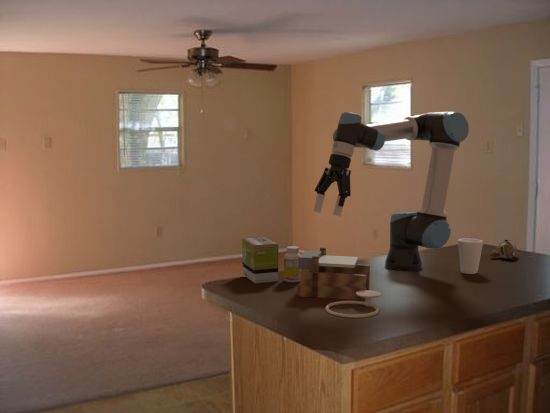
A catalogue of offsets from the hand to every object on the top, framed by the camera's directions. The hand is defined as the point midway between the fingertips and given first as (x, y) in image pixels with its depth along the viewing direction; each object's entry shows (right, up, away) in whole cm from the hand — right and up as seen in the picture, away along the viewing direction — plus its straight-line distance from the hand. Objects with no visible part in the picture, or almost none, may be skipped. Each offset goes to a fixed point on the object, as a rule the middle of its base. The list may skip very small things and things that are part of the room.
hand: (326, 213), depth 224 cm
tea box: (-24, -25, +18) cm, 39 cm away
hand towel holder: (+7, -30, -23) cm, 39 cm away
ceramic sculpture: (+85, -21, +61) cm, 107 cm away
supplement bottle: (-12, -26, +14) cm, 32 cm away
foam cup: (+60, -24, +31) cm, 72 cm away
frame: (+3, -27, -2) cm, 28 cm away
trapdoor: (+1, -18, -3) cm, 19 cm away
